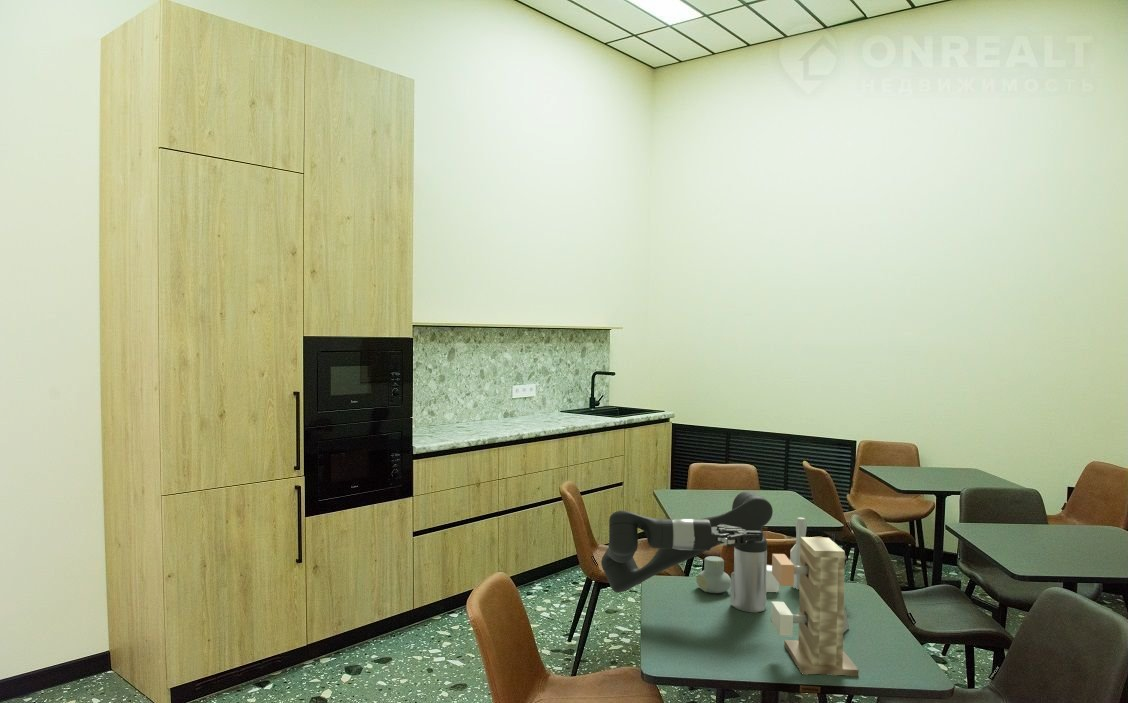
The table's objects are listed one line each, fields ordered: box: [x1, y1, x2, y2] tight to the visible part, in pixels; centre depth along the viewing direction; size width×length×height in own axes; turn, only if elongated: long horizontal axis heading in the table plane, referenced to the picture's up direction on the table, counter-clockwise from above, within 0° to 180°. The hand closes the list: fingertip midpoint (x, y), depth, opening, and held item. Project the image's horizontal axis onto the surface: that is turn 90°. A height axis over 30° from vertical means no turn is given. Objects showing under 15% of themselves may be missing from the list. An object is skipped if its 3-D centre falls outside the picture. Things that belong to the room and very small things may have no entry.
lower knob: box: [770, 601, 808, 637], centre depth 178 cm, size 8×9×5 cm
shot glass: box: [766, 564, 780, 593], centre depth 229 cm, size 7×7×7 cm
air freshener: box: [696, 555, 731, 594], centre depth 227 cm, size 11×8×10 cm
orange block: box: [771, 553, 809, 587], centre depth 178 cm, size 8×9×5 cm
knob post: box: [783, 536, 860, 677], centre depth 178 cm, size 13×16×28 cm
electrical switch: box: [843, 606, 850, 634], centre depth 197 cm, size 9×5×9 cm, turn 141°
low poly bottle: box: [789, 516, 808, 590], centre depth 231 cm, size 6×6×22 cm
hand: (761, 536), depth 179 cm, fingers closed
